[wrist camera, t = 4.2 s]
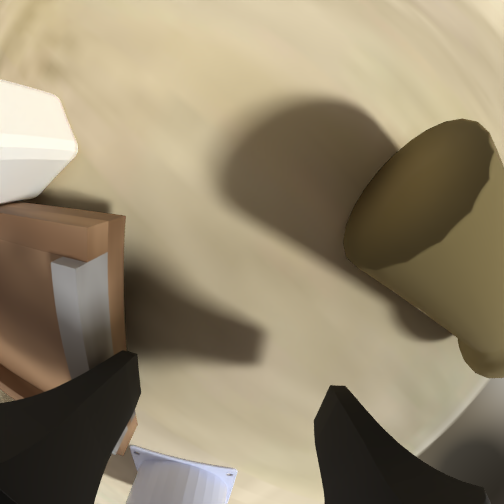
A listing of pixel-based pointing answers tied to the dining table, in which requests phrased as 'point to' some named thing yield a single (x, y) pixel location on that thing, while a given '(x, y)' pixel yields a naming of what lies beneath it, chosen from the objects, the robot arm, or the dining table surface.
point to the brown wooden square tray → (59, 297)
